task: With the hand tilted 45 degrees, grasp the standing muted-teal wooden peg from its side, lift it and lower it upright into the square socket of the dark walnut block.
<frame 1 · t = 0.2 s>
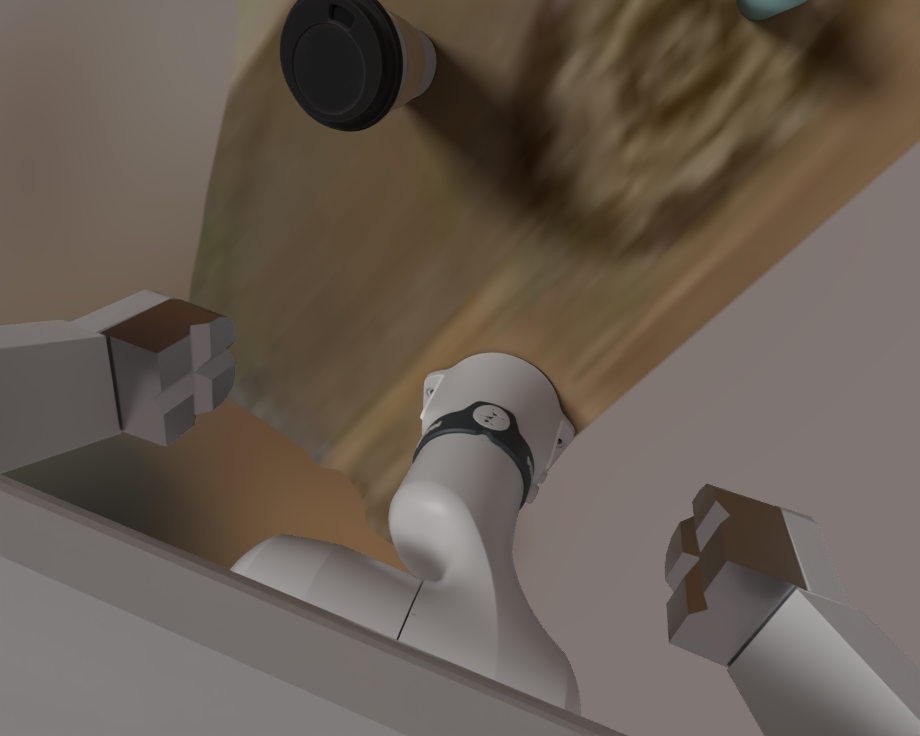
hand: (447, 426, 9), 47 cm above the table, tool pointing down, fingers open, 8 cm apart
coffee cup: (407, 63, 51), on the table
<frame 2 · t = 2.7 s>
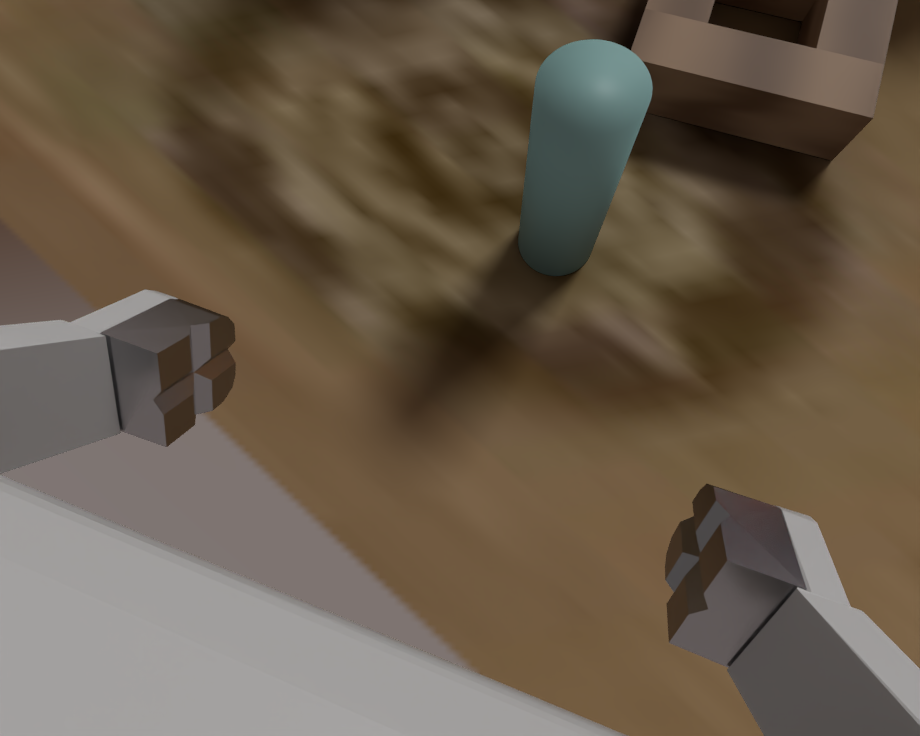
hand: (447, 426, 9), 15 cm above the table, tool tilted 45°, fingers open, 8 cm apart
socket block: (744, 47, 29), on the table
peg: (555, 241, 27), on the table
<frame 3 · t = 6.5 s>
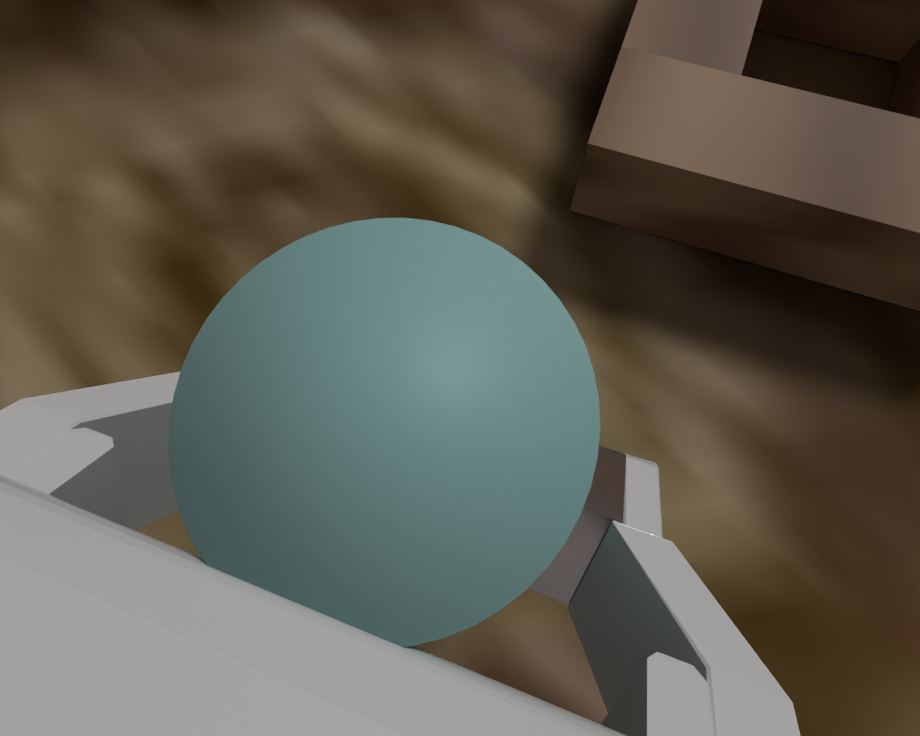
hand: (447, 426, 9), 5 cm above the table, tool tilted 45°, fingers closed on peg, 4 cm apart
socket block: (798, 107, 17), on the table
peg: (454, 481, 14), on the table, touching gripper
when the fingers open (7 cm above the table, at t = 13.1 s): peg drops 1 cm, resting in socket block.
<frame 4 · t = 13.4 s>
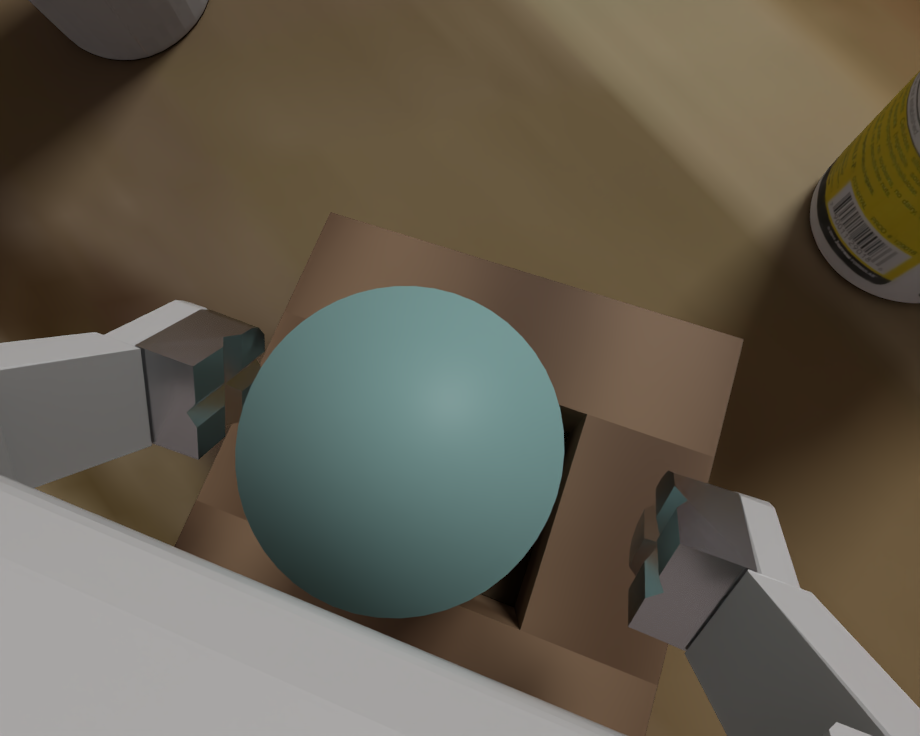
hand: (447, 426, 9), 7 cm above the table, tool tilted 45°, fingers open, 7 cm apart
coffee cup: (138, 2, 21), on the table
socket block: (458, 485, 16), on the table
peg: (454, 485, 16), resting in socket block
supplement bottle: (888, 229, 17), on the table
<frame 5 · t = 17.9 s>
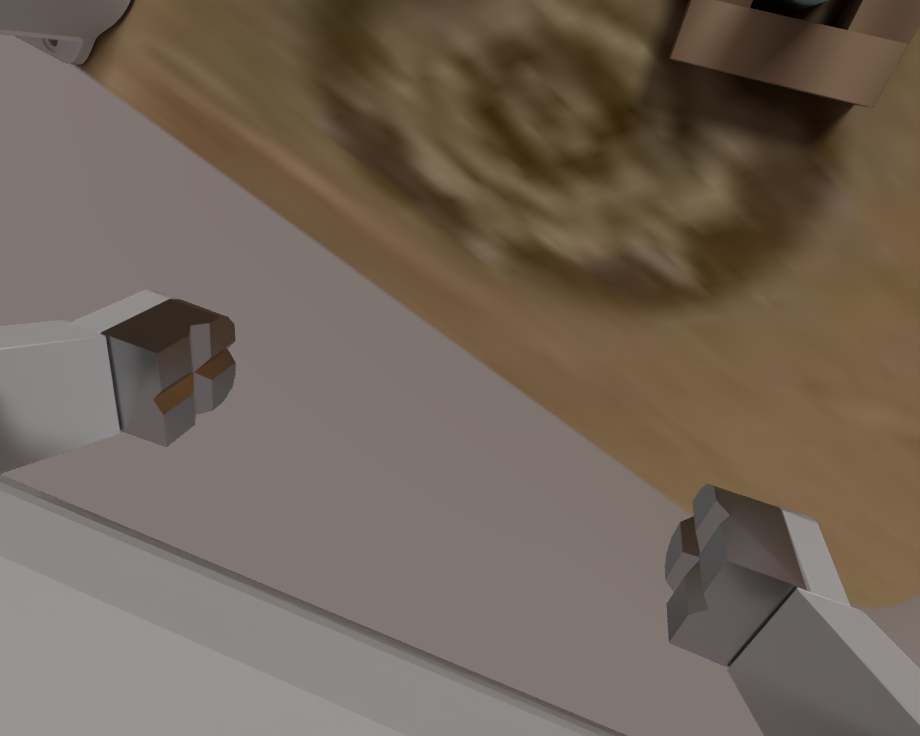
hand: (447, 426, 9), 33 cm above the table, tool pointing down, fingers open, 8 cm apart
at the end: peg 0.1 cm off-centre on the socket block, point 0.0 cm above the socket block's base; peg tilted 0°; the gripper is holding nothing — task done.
